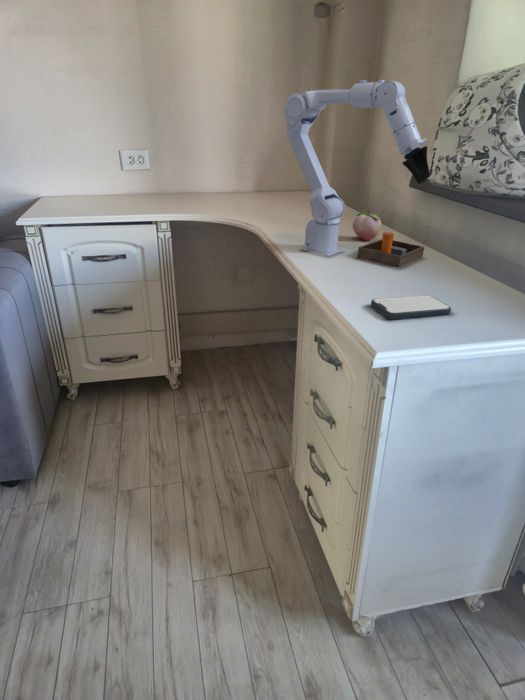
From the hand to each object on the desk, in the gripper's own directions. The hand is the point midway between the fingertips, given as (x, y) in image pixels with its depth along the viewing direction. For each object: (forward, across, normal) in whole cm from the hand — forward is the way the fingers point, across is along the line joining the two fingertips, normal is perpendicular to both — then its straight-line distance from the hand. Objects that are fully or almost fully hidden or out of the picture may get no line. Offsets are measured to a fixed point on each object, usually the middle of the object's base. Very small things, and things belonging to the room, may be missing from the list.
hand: (424, 180), depth 124 cm
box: (+15, +15, +15) cm, 26 cm away
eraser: (+15, +18, +13) cm, 26 cm away
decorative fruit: (+8, +32, +20) cm, 39 cm away
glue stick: (+15, +12, +16) cm, 25 cm away
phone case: (+26, -24, +15) cm, 39 cm away
